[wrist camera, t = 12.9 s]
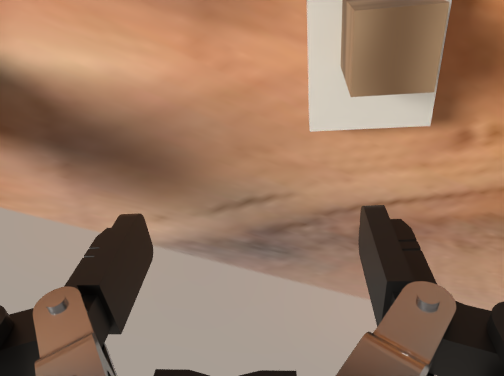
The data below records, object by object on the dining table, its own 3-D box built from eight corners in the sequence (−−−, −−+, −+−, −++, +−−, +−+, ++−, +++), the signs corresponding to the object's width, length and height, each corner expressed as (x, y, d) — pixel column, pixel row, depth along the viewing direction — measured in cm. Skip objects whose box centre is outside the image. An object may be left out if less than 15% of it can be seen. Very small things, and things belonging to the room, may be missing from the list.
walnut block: (340, 66, 29) (350, 97, 24) (342, -5, 27) (354, 10, 21) (407, 61, 29) (434, 92, 23) (416, -12, 26) (449, 2, 20)
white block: (308, 113, 36) (309, 131, 33) (305, -92, 27) (305, -96, 24) (417, 108, 35) (430, 125, 31) (450, -111, 26) (472, -119, 23)
